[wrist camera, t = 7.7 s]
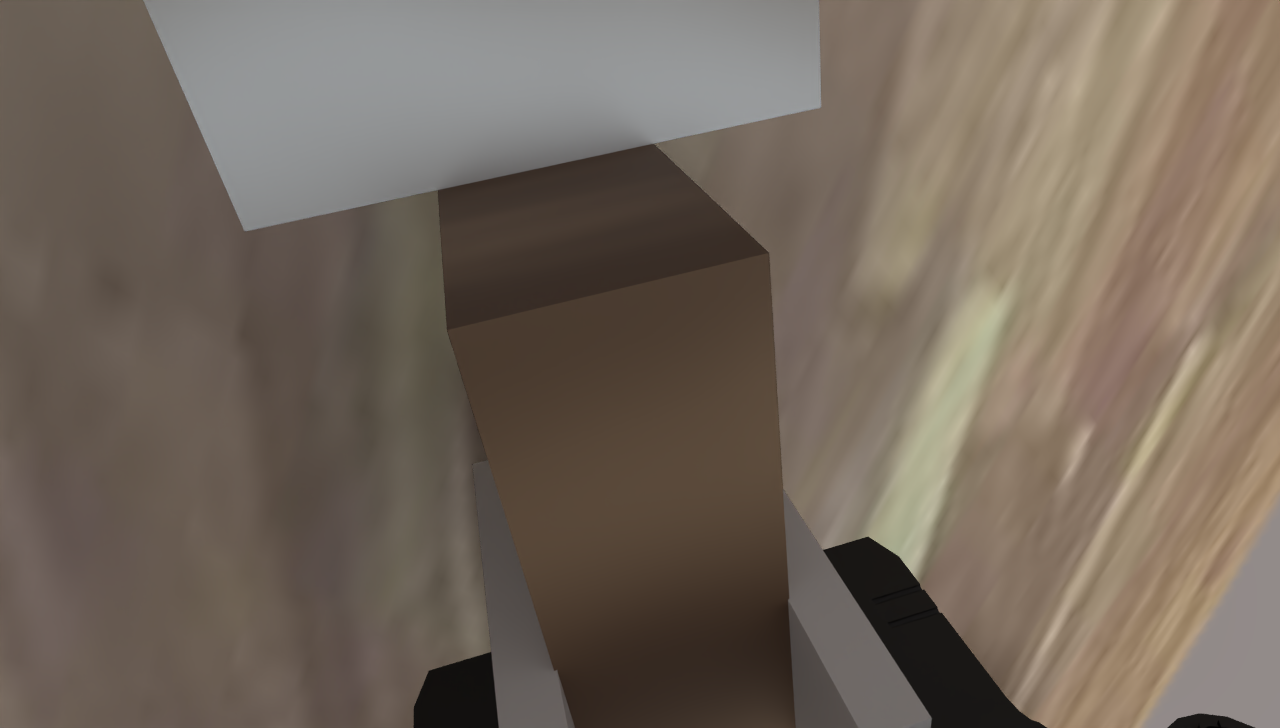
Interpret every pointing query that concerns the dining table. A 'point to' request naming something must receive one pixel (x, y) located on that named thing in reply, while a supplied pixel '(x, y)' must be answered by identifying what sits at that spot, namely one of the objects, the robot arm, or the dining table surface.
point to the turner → (563, 292)
